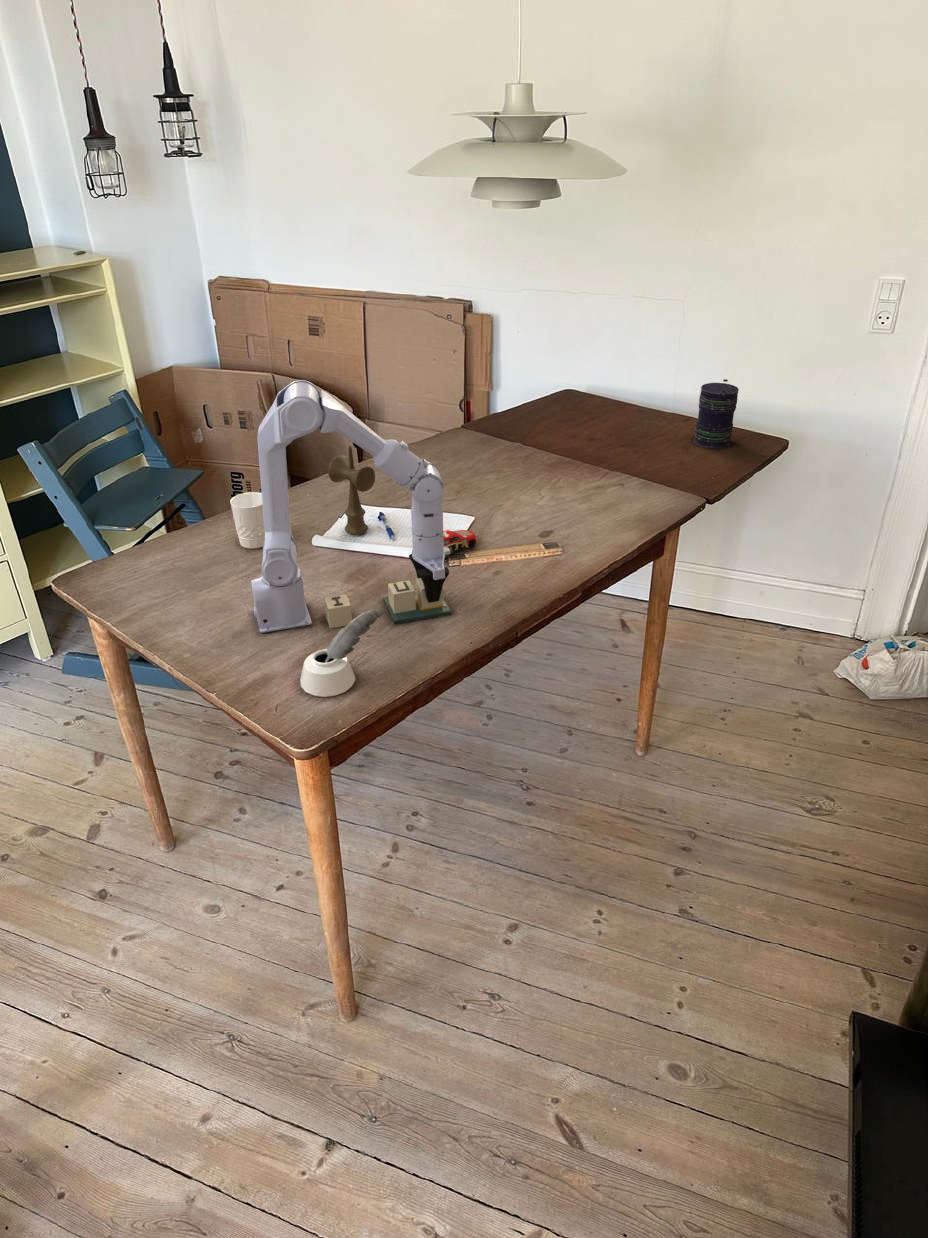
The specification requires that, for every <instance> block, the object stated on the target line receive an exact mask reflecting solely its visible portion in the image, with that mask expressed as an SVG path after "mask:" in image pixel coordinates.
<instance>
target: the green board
mask: <svg viewBox="0 0 928 1238" xmlns="http://www.w3.org/2000/svg"><path fill="white" fill-rule="evenodd" d="M415 598H416V610H413V611H407V612H401V613H395V614H394V612H393V610H392V608H391V606H390V604H389V596H383V597H382V601H383V603H384V605H385V608H386V610H388V614H389V616H390V617H391V619H392V622H393V624H394V625H398V624H403V623H405V624H406V623H411V622H416V621H422V620H427V619H428V620H429V619H433V618H439V617H444V616H451V615H452V610H451V608H450V606H449V605H448V603H447V602H446V600H445V598H444V597H443V600H444V605H439V606H433V607H427V608H422V607H421V605H420V603H419V601H418V599H417V596H416V591H415Z"/></svg>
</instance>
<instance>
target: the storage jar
mask: <svg viewBox="0 0 928 1238" xmlns="http://www.w3.org/2000/svg"><path fill="white" fill-rule="evenodd" d="M728 381H729V379H728V378H727V379H726V378H724V379H723V380H722V382H709V383H704V384H702V385H701V387H700V392H699V393H700V394H699V399H698V401H699V402H698V415H697V416H698V417H697V420H696V423H695V427H694V438H693V442H694V444H696V445H697V446H699V447H702V448H707V449H723V448H727V447H729V446H730V445H731V439H732V436H733V431H734V430H733V428H734V423H733V422H734V416H735V411H736V410H737V405H738V396H739V390H740V389H739V387H738V386H736V385H734V384H731V383H727V382H728Z"/></svg>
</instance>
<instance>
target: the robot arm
mask: <svg viewBox="0 0 928 1238" xmlns="http://www.w3.org/2000/svg"><path fill="white" fill-rule="evenodd" d="M318 428H319V433H320V434H326V433H332V432H337V433H339V434H340V435H341V436H343V437H344V438H346V439H347V440H349V441H350V442H352V443H353V444H355V445H356V446H358V447H359V448H361V449H362V450H364V451H365V452H366V453H368V454H370V455H371V456H373V464H374V466H375V468H376V469H378V470H379V471H380V472H382V473H383V474H384V475H386V476H387V477H389V478H390V479H392V480H393V481H394V482H395V483H397V484H398V485H400V486H401V487H402V488H405V489H407V490H409V491H410V494H411V495H410V496H411V506H410V516H411V539H412V541H411V542H412V543H411V544H412V550H411V553H410V554H408V558H409V560H410V562H411V563H412V565H413V567H414V570H415V573H416V577H417V578H416V579H418V578H421V579H422V581H423V584H424V588H425V594H426V598H427V600H428V602H429V603H430V602H436V601H439V599H440V595H441V590H442V587H443V588H444V584H445V581H446V580H447V578H448V576H449V575H450V569H449V567H448V566H445V558H446V556H449V555H451V554H450V550H449V548H448V547H444V540H443V531H444V507H443V505H442V504H443V498H444V497H445V495H446V488H445V485H444V482H443V480H442V477H441V474H440V472H439V470H438V468H437V467H436V466H435V465H434V463H432V462H430V461H428V460H427V459H425V458H424V459H421V458H420V457H418V456H417V455H416V454H415V453H414V452H412V451H411V450H409V445H408V444H407V443H406V442H405V441H404V440H402V441H401V442H399V441H397V440H396V439H393V438H392V439H383V438H382V437H381V436H380V435H379V434H377V433H376V432H375V431H373V430H372V428H370V427H369V426H368V425H367V424H365V423H364V422H363V421H362V420H361V419H359V418H358V417H357V416H355V415H354V414H353V413H352V411H351V412H350V410H349V409H347V408H346V407H345V406H344V405H343V404H342V403H340V402H339V401H338V400H336V399H335V398H334V397H333V396H332V395H330V393H328V392H326V391H324V390H323V389H321V390H319V388H318V387H317V386H316V385H315V384H314V383H313V382H310V381H308V380H305V379H297V380H294V381H291V382H290V383H289V384H288V385H286V386H285V387H283V388H282V389H281V390H279V391H278V392H277V394H276V396H275V399H274V401H273V403H272V405H271V406H270V407H269V410H268V411H267V412H266V413H265V416H264V418H262V421H261V423H260V424H259V427H258V430H257V437H256V439H257V449H258V450H257V451H258V463H259V465H258V466H259V475H260V489H261V493H262V503H263V516H264V528H265V541H264V543H263V547H262V562H261V565H260V566H261V568H260V571H261V572H260V573H261V576H259V577H258V578H257V577H256V578H254V579H251V580H250V586H251V591H252V599H253V604H254V607H253V614H254V618H256V622H257V625H258V630H259V632H260V634H265V633H271V632H276V631H282V630H288V629H294V628H299V627H300V628H301V627H305V626H311V625H312V624H313V621H312V619H311V615H310V612H309V609H308V606H307V603H306V598H305V589H304V580H303V571H302V569H301V568H300V567H299V566H298V556H297V555H298V544H297V541H296V540H295V539H294V537H293V535H292V525H291V513H290V498H289V483H288V482H289V480H288V479H289V478H288V466H287V465H288V464H287V449H286V447H287V446H288V445H290V444H291V443H292V442H293V441H294V440H296V439H298V438H301V437H303V436H306V435H309V434H312V433H313V432H314V431H316V430H317V429H318ZM445 555H446V556H445Z"/></svg>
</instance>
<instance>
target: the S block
mask: <svg viewBox="0 0 928 1238" xmlns="http://www.w3.org/2000/svg"><path fill="white" fill-rule="evenodd" d="M415 592H416V596H417V599H418V601H419V603H420V605H421V607H422V608H427V607H433V606H439V605H444V600H445V599H444V600H443V598H444V586H443V587H442V590H441V595H440V599H439V601H436V602H430V603H429V602H428V600H427V598H426V594H425V588H424V584H423V581H422V579H421V578H415Z"/></svg>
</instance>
